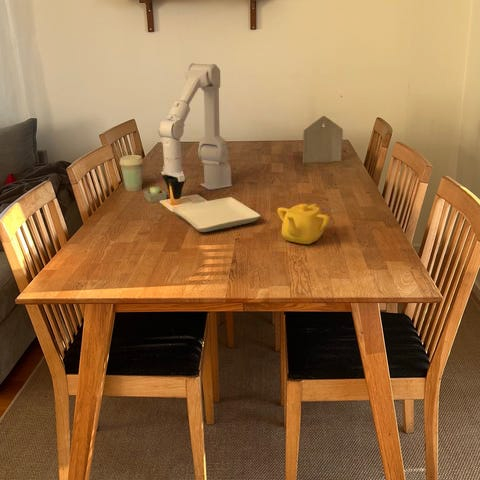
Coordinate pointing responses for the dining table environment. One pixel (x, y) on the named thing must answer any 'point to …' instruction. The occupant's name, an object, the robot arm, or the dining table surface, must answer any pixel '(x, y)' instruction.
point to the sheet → (183, 201)
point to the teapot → (303, 223)
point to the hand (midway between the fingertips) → (175, 197)
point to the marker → (173, 201)
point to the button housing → (155, 196)
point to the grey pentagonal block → (322, 142)
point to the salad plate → (216, 214)
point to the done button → (154, 190)
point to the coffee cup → (132, 172)
